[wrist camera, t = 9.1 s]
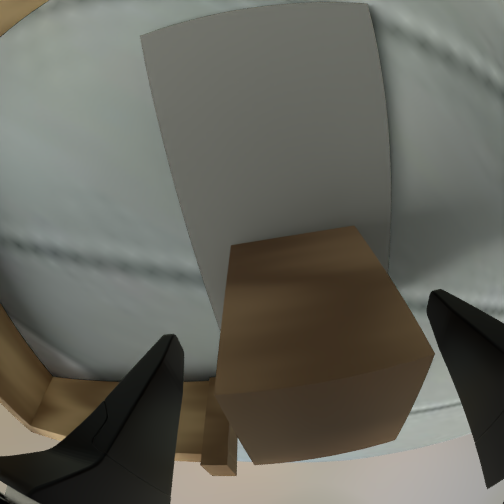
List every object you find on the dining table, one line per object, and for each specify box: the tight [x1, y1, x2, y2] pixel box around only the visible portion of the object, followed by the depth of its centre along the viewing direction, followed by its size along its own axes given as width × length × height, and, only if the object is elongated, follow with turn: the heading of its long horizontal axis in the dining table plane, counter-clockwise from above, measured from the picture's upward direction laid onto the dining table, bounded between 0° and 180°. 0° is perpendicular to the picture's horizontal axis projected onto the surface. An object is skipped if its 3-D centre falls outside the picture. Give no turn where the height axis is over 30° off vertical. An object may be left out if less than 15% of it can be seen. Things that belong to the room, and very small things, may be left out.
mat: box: [140, 2, 391, 331], centre depth 11 cm, size 7×20×1 cm, turn 10°
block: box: [214, 226, 435, 465], centre depth 9 cm, size 4×4×6 cm
